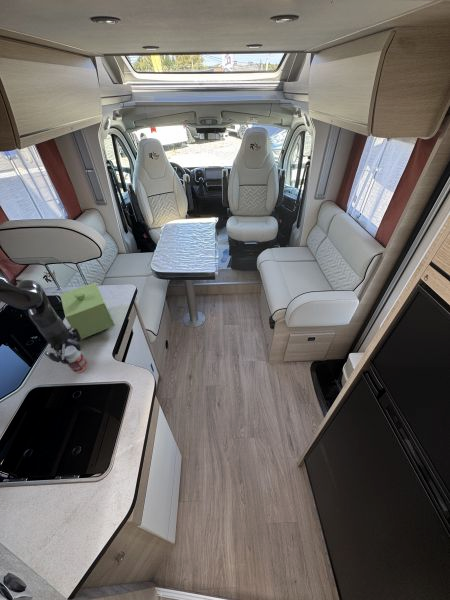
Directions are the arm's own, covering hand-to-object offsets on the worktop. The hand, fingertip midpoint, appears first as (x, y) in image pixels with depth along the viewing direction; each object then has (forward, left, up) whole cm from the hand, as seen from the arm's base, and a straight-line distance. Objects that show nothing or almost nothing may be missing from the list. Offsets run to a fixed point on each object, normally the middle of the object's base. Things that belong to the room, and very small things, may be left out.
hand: (72, 356), depth 103 cm
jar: (-15, +9, -8) cm, 19 cm away
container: (-11, +23, -8) cm, 27 cm away
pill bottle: (0, 0, -8) cm, 8 cm away
